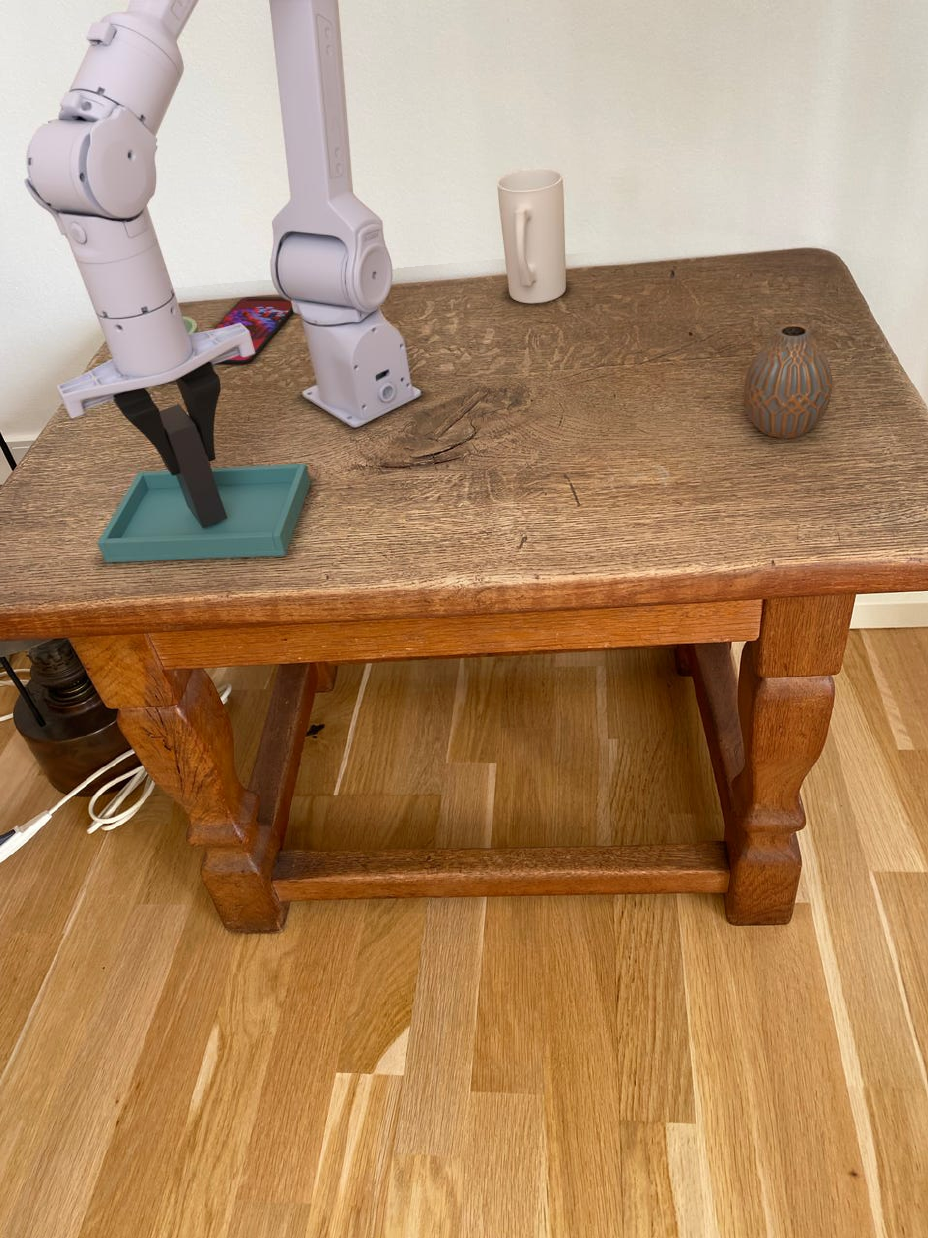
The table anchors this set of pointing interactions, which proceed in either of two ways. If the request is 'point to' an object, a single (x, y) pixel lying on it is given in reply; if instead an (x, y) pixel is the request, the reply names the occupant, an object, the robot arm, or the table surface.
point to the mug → (533, 233)
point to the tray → (253, 528)
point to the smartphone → (258, 322)
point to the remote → (193, 467)
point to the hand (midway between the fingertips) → (191, 462)
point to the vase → (788, 384)
